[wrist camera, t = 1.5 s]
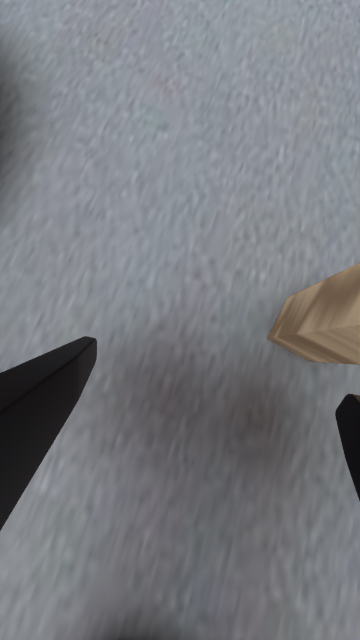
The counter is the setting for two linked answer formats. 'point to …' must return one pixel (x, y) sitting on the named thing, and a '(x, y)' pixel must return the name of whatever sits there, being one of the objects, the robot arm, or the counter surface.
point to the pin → (323, 320)
